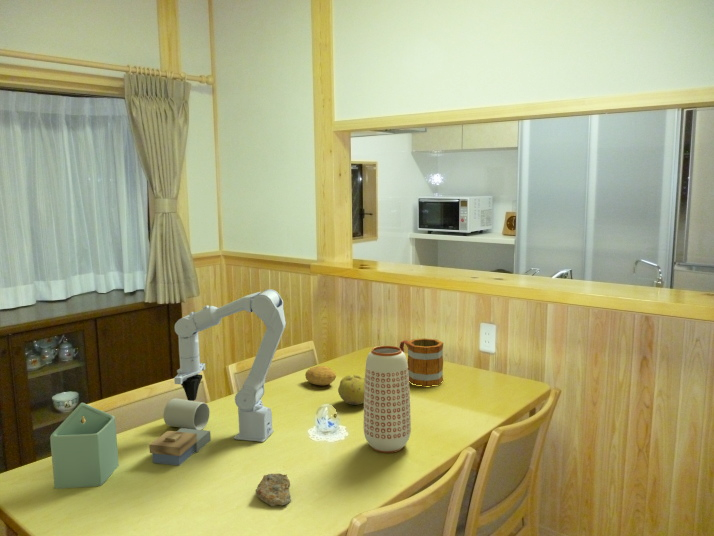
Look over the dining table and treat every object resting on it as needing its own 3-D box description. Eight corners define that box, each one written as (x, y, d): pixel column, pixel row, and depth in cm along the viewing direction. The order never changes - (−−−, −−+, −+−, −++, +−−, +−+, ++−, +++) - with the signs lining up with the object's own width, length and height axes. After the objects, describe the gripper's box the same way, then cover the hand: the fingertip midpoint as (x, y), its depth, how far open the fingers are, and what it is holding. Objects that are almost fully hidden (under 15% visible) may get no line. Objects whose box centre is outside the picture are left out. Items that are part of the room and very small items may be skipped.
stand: (210, 440, 171) (210, 430, 171) (197, 452, 163) (196, 442, 163) (181, 437, 173) (180, 428, 173) (166, 449, 165) (166, 439, 165)
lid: (196, 441, 163) (196, 430, 163) (179, 456, 155) (179, 444, 154) (168, 438, 165) (167, 428, 165) (149, 452, 157) (148, 441, 156)
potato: (323, 378, 227) (322, 360, 226) (341, 386, 216) (340, 368, 215) (302, 382, 221) (301, 365, 220) (320, 392, 211) (319, 373, 210)
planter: (67, 498, 140) (60, 419, 137) (54, 488, 145) (47, 411, 142) (132, 473, 152) (127, 400, 149) (117, 464, 157) (112, 393, 154)
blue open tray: (194, 452, 163) (194, 442, 163) (179, 465, 156) (178, 454, 155) (169, 449, 165) (168, 439, 165) (152, 462, 158) (152, 452, 157)
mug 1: (160, 424, 177) (190, 429, 173) (167, 395, 180) (197, 400, 176) (182, 429, 188) (211, 433, 184) (189, 402, 190) (218, 406, 187)
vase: (415, 439, 170) (415, 345, 166) (404, 459, 157) (403, 358, 153) (372, 434, 174) (370, 341, 170) (357, 453, 161) (355, 354, 158)
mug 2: (450, 381, 220) (451, 342, 218) (427, 390, 211) (427, 349, 209) (412, 370, 235) (412, 333, 233) (388, 377, 226) (388, 340, 224)
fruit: (332, 408, 195) (332, 379, 194) (346, 396, 206) (345, 369, 205) (363, 412, 191) (363, 382, 190) (376, 400, 202) (375, 372, 200)
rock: (255, 489, 143) (252, 503, 133) (260, 465, 144) (258, 477, 134) (290, 496, 144) (289, 510, 134) (295, 472, 144) (295, 484, 134)
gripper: (189, 348, 181) (192, 390, 183) (163, 362, 167) (166, 407, 169) (210, 349, 180) (212, 392, 181) (186, 363, 166) (188, 409, 168)
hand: (191, 399), depth 175 cm, fingers closed
